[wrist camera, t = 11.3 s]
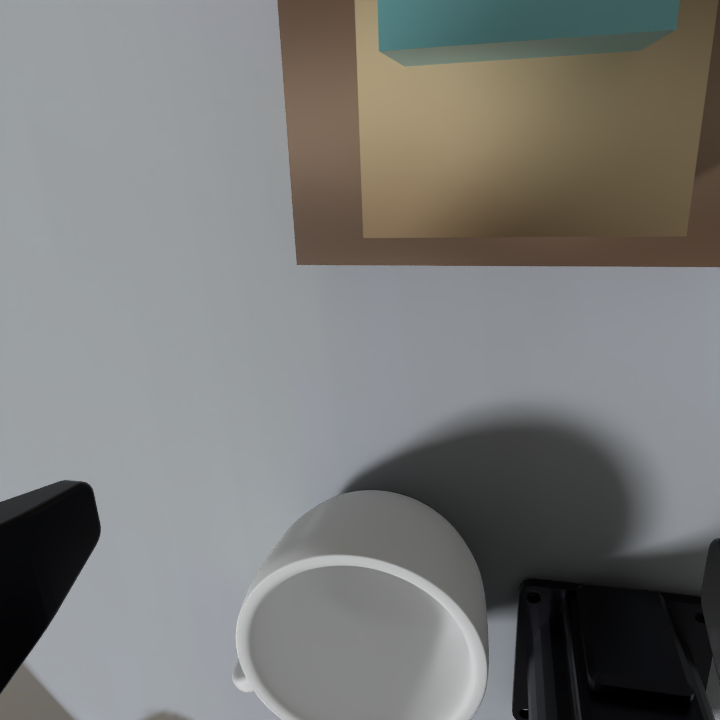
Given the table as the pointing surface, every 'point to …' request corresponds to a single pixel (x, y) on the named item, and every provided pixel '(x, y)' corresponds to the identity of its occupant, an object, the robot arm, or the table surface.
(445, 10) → the teal square block
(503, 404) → the table surface
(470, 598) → the teacup
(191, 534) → the table surface
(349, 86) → the block
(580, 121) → the pallet
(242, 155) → the table surface
